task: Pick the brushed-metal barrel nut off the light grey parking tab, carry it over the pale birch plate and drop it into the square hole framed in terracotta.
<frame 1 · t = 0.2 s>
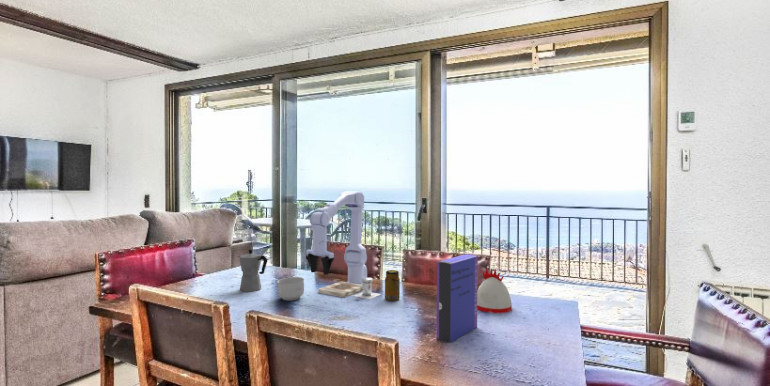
hand: (319, 273, 173), 10 cm above the table, tool pointing down, fingers open, 7 cm apart
hole plate: (342, 291, 182), on the table
condiment: (393, 301, 168), on the table
beige rounded dome: (492, 308, 159), on the table
blue book: (457, 333, 132), on the table
parking tab: (366, 295, 175), on the table
coffeepot: (252, 290, 185), on the table
teacup: (291, 298, 172), on the table
barrel nut: (366, 286, 175), on the parking tab
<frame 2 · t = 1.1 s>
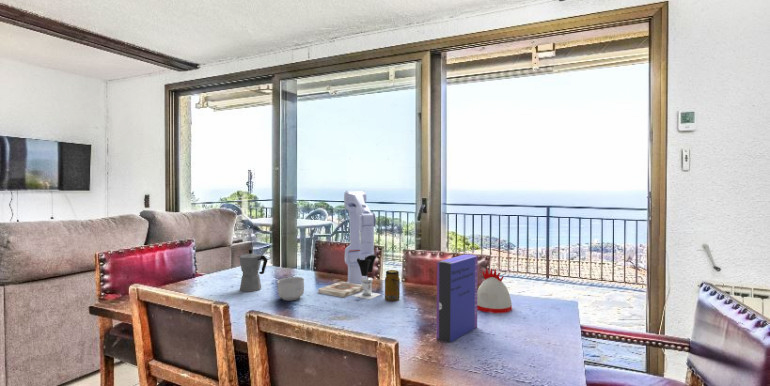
hand: (366, 273, 175), 9 cm above the table, tool pointing down, fingers open, 7 cm apart
nothing on the table moved.
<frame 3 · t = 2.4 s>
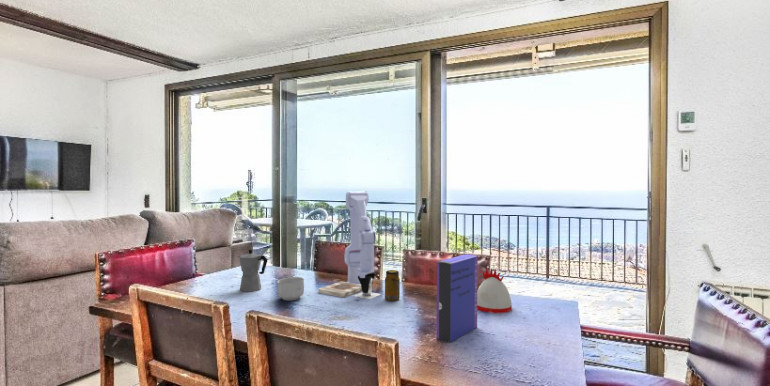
hand: (366, 291, 175), 2 cm above the table, tool pointing down, fingers closed on barrel nut, 5 cm apart
barrel nut: (366, 286, 175), on the parking tab, touching gripper
everything else where it was.
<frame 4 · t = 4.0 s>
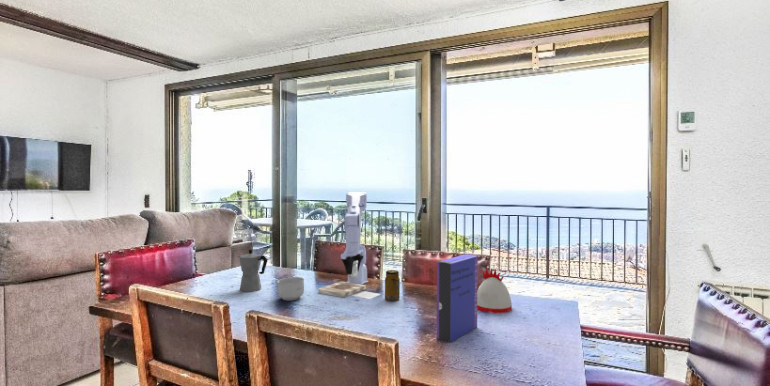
hand: (352, 273, 179), 9 cm above the table, tool pointing down, fingers closed on barrel nut, 5 cm apart
barrel nut: (352, 268, 179), point 11 cm above the table, touching gripper
everything else where it was.
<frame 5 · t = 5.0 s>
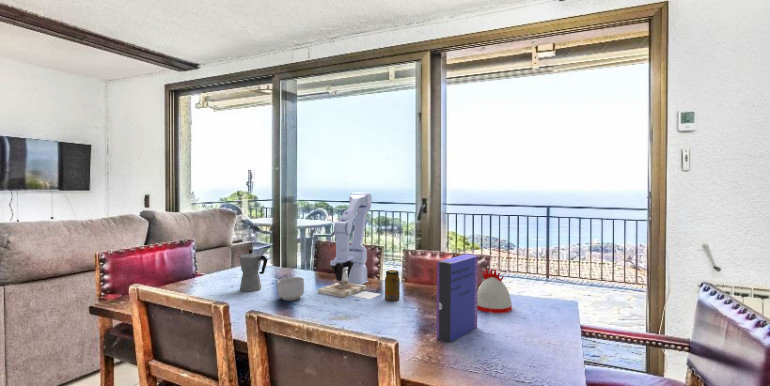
hand: (342, 279, 182), 5 cm above the table, tool pointing down, fingers closed on barrel nut, 5 cm apart
barrel nut: (343, 275, 181), point 7 cm above the table, touching gripper
everything else where it was.
when the fingers open (5 cm above the table, at t = 5.5 s): barrel nut drops 3 cm, resting in hole plate.
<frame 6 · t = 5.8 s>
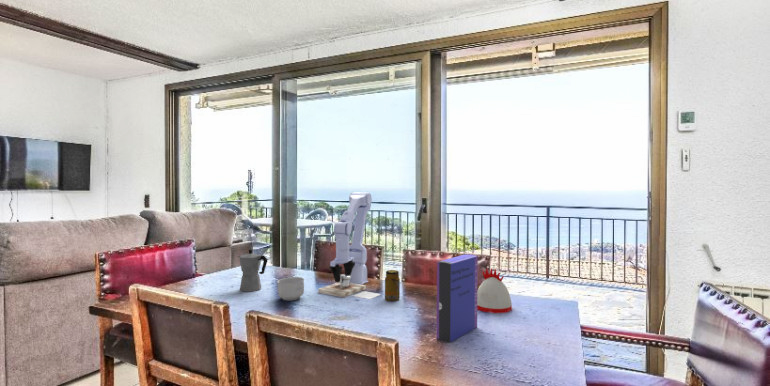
hand: (342, 280, 182), 5 cm above the table, tool pointing down, fingers open, 7 cm apart
barrel nut: (344, 283, 181), in the hole plate, tilted 7°
everything else where it was.
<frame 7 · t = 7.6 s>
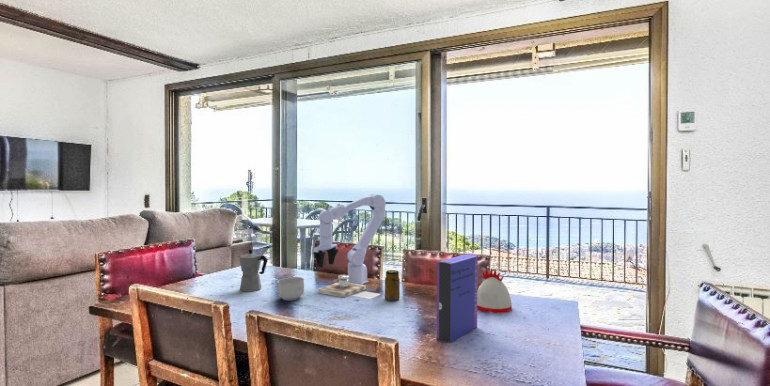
hand: (325, 265, 192), 9 cm above the table, tool pointing down, fingers open, 7 cm apart
barrel nut: (343, 283, 181), in the hole plate
everything else where it was.
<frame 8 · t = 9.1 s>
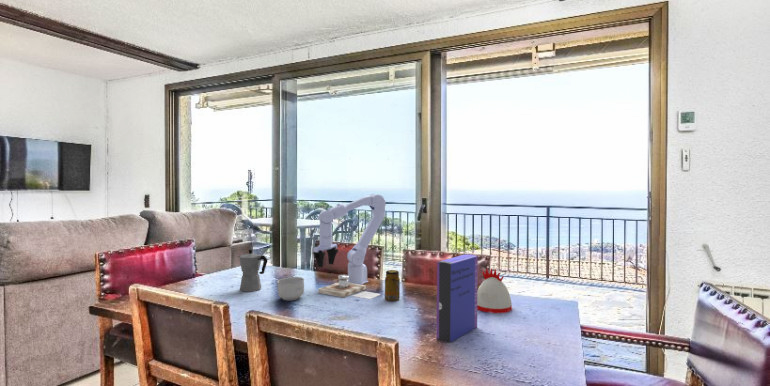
hand: (325, 265, 192), 9 cm above the table, tool pointing down, fingers open, 7 cm apart
nothing on the table moved.
at the end: barrel nut 0.5 cm off-centre on the hole plate, point 3.5 cm above the hole plate's base; barrel nut tilted 1°; the gripper is holding nothing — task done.
